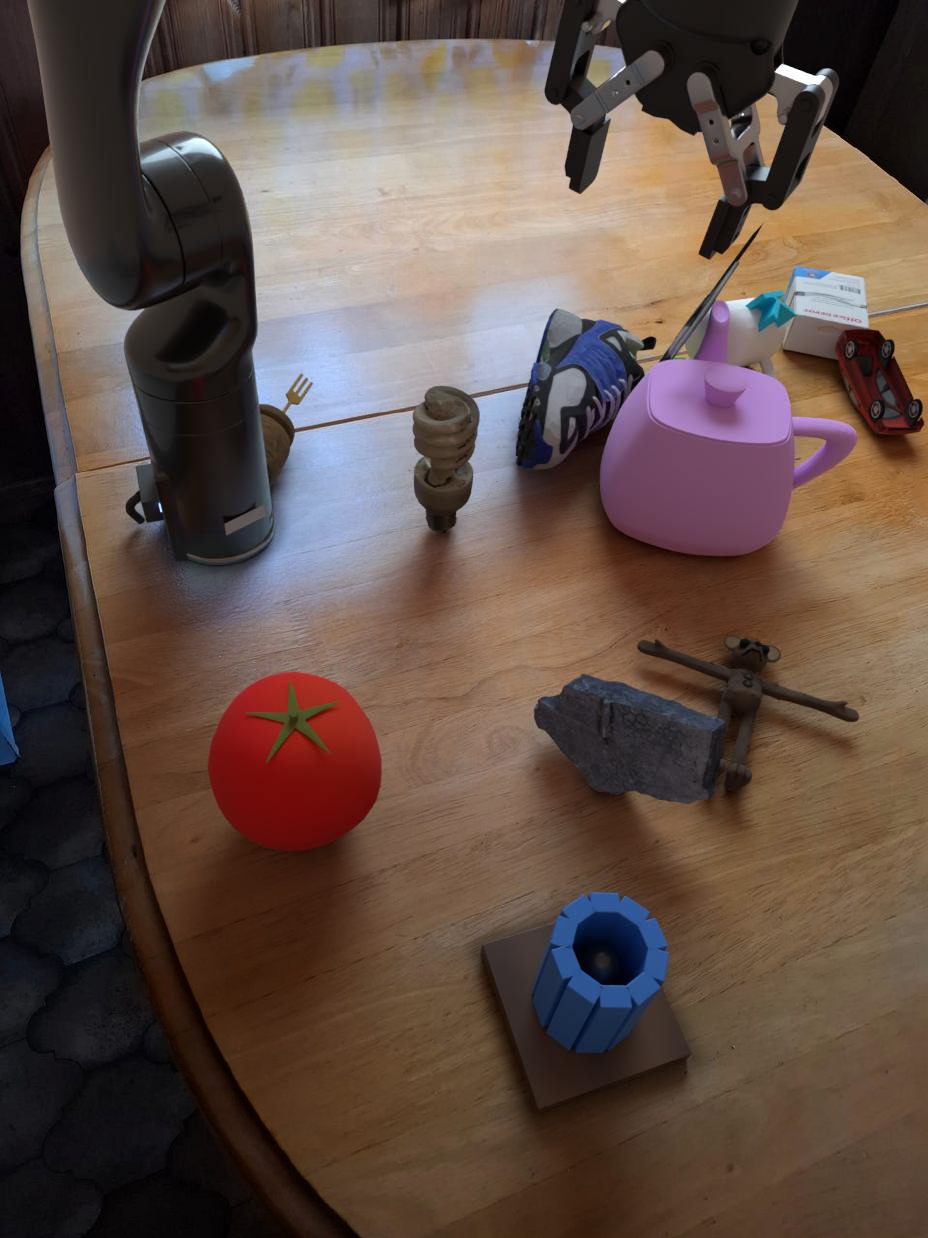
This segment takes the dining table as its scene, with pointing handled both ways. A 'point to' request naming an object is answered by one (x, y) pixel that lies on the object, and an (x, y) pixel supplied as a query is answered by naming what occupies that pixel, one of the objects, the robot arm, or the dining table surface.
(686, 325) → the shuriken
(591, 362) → the athletic shoe
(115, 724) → the dining table surface
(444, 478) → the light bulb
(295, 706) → the tomato
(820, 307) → the ink box
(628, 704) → the stone
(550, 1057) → the peg stand
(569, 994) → the blue notched tube
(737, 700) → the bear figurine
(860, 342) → the toy car
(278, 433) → the utensil holder
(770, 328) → the mug
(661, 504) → the teapot
